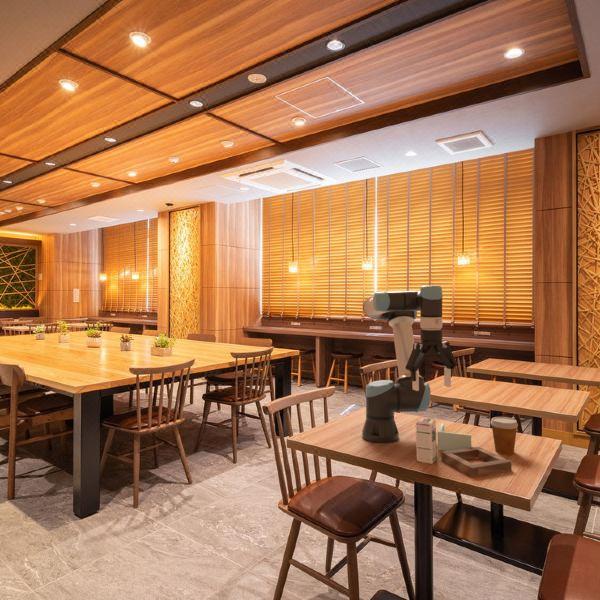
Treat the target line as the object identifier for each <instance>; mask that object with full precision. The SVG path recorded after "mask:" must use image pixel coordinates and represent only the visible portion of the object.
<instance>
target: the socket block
mask: <svg viewBox="0 0 600 600" xmlns="http://www.w3.org/2000/svg"><path fill="white" fill-rule="evenodd" d="M471 459H479V460H481V461H484V462H480V463H474V464H473V463H471V462H469V461H467V460H471ZM441 461H443V462H444V463H446V464H448V465H449V466H451V467H454V469H456V470H459V471H460V472H461V473H463V474H465V475H467V476H469V477H470V478H474V477H475V478H476V477H482V476H487V475H494V474H499V473H505V472H511V471H512V469H513V468H512V465H513V464H512V461H511V460H509V459H507V458H504V457H502V456H500V455H498V454H496V453H494V452H491V451H490V450H487V449H485V448H483V447H481V446H478V445H477V446H471V448H465V449H458V450H451V451H444V450H443V451H441Z"/></svg>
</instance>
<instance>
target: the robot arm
mask: <svg viewBox="0 0 600 600" xmlns="http://www.w3.org/2000/svg"><path fill="white" fill-rule="evenodd" d="M443 297H444V296H443V287H442V286H441V285H422V286H420V289H419V290H405V291H404V290H403V291H400V290H399V291H393V290H392V291H391V290H390V291H385V290H382V291H376V292H374V293H373V296H370V297H368V298H366V299H365V300H364V302H363V303H362V311H363V313H364V314H365V316H367V317H368V318H370V319H372V320H375V321H388V326H389V327H391V328H392V332H393V333H392V334H393V342H394V349H395V356H396V362H397V363H396V365H397V369H398V372H397V373H398V377H397V379H396V380H395V383H394V381H393V380H390V379H380V380H375V381H371V382H369V383H367V384H366V386H365V420H364V425H363V428H362V431H361V436H362V437H361V438H363V439H364V440H365V441H368V442H372V443H380V444H381V443H384V444H385V443H392V442H395V441H397V440H399V438H400V435H399V434H400V433H399V429H398V426H397V424H396V420H395V413H411V412H412V413H418V412H419V413H420V412H425V411H427V410H428V409H429V407H430V403H431V395H432V394H431V386H430V384H429V383H427V382H425V380H424V379H425V378H424V377H423V376H422V375H420V372H419V368H420V367H421V366H422V364H423V363H424V361H425V359H426V358H427V357H428V356H437V357H438V358H439V359H440V360H441V362H442V364H443V365H444V366H445V367H444V368H443V371H444V372H443V375H444V376H443V377H444V379H443V381H444V383H443V384H444V386H445V387H448V388H451V387H452V378H453V370H455V367H457V366H458V363H457V361H456V359H455V356H454V353H453V351H452V349H451V346H450V345H451V344H450V342H449V341H445V340H443V330H442V328H443ZM418 311H419V312H420V313H419V314H420V318H419V320H420V323H419V324H420V326H419V327H420V328H421V329H420V341H421V342H420V343H418V342H417V343H416V342H415V338H414V332H413V326H412V325H413V324H414V323H415V320H416V319H417V317H418ZM442 340H443V341H442ZM442 349H443V350H442Z"/></svg>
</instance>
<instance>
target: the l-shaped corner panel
mask: <svg viewBox="0 0 600 600" xmlns="http://www.w3.org/2000/svg"><path fill="white" fill-rule="evenodd" d="M471 447H472V434H470V433H462V432H449V431H445V423H443V422H442V423H441V424H440V426H439V427H438V430H437V450H438V451H443V452H444V451H451V450H458V449H465V448H471Z"/></svg>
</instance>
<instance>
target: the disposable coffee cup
mask: <svg viewBox="0 0 600 600" xmlns="http://www.w3.org/2000/svg"><path fill="white" fill-rule="evenodd" d="M517 421H518V420H516V419H515V418H512V417H506V416H505V417H504V416H495V417H492V418H491V420H490V421H489V422H490V425H491V429H492V436H493V442H494V444H493V445H494V450H495V452H496V453H497V454H501V455H505V456H506V455H509V456H510V455H513V454H515V444H516V437H517V430H518V429H517V428H518V427H519V423H518V422H517Z"/></svg>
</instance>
